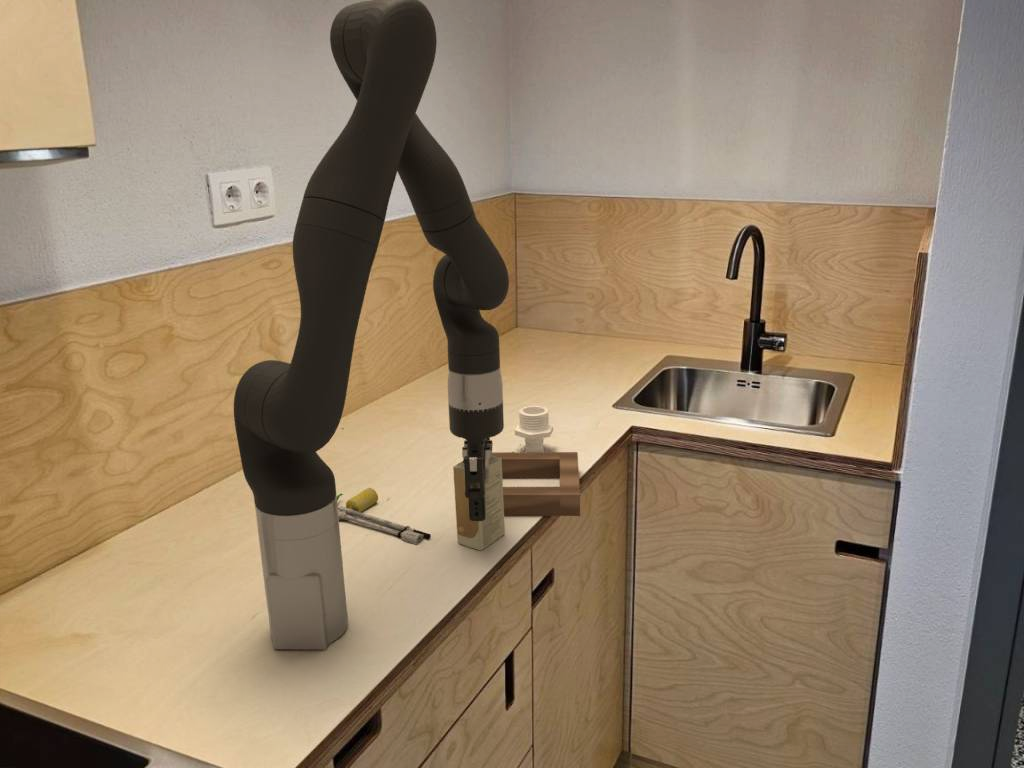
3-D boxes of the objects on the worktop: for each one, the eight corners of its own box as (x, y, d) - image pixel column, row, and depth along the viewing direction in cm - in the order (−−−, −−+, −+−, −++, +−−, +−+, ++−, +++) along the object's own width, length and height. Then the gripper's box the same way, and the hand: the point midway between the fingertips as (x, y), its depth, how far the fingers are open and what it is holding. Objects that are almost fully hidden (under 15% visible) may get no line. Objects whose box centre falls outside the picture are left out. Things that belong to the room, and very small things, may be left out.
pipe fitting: (559, 456, 159) (559, 413, 156) (521, 461, 157) (520, 418, 154) (547, 443, 164) (546, 402, 162) (510, 449, 162) (509, 407, 160)
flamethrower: (311, 483, 150) (266, 509, 142) (309, 469, 149) (264, 494, 141) (453, 526, 135) (412, 557, 127) (452, 510, 134) (411, 541, 126)
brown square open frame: (580, 515, 136) (580, 494, 135) (468, 516, 137) (467, 495, 136) (577, 471, 152) (577, 452, 151) (477, 471, 153) (477, 452, 152)
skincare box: (482, 527, 133) (479, 450, 130) (506, 534, 131) (503, 456, 127) (455, 544, 128) (451, 465, 125) (479, 552, 126) (476, 472, 122)
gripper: (499, 416, 116) (503, 530, 121) (505, 382, 130) (508, 486, 135) (442, 416, 116) (448, 530, 121) (454, 383, 130) (458, 486, 135)
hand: (479, 507), depth 128 cm, fingers closed on skincare box, 7 cm apart
